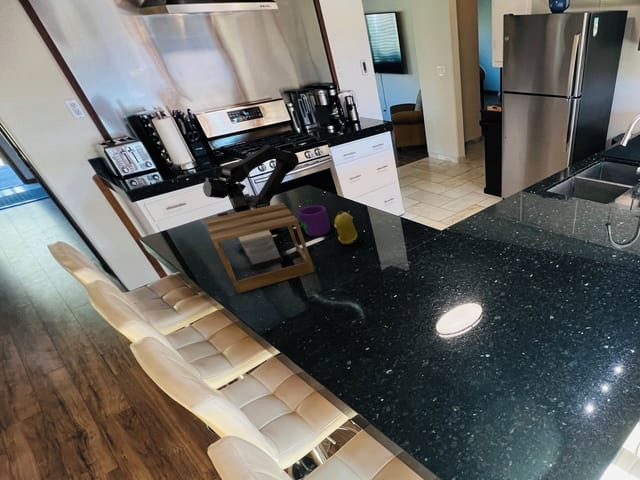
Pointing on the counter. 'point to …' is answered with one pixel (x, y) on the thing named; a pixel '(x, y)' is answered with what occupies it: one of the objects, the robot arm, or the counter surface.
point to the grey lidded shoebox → (260, 249)
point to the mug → (314, 220)
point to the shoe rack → (252, 224)
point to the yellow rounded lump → (345, 228)
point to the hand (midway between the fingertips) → (253, 234)
